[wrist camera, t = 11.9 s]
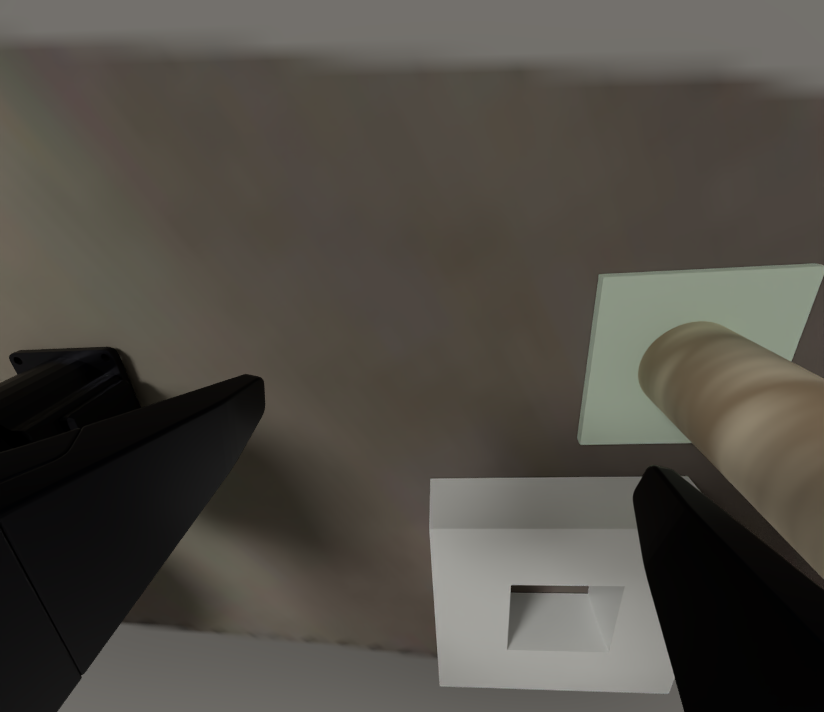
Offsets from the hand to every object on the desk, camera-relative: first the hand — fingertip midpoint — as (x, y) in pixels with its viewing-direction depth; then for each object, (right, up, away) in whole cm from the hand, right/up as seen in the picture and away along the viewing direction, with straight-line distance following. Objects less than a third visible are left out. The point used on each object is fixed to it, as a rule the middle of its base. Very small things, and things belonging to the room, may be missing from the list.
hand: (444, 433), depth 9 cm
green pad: (+14, +1, +12) cm, 18 cm away
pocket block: (+9, -13, +19) cm, 25 cm away
